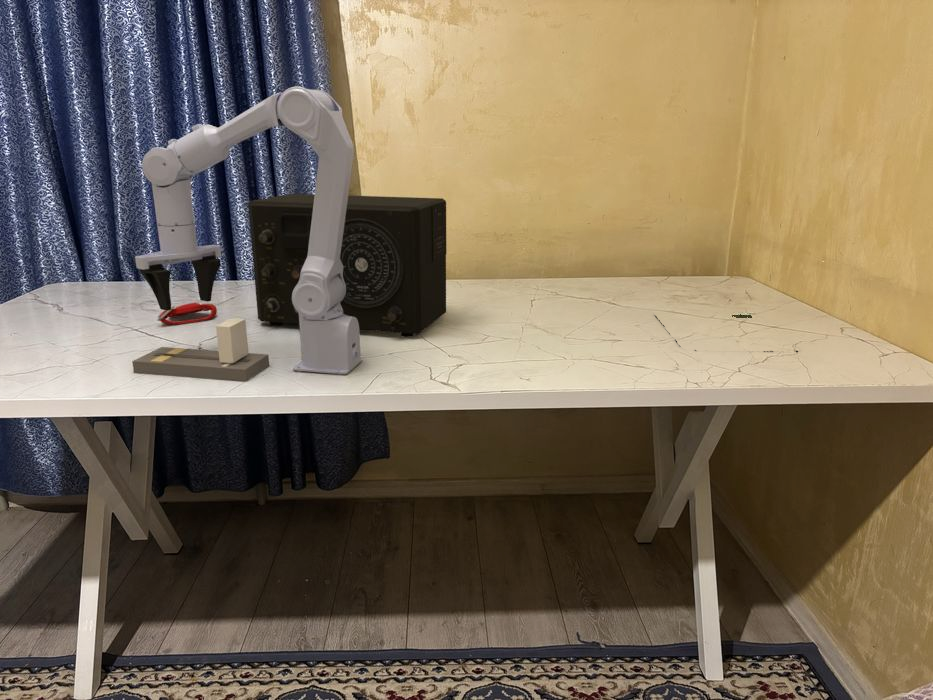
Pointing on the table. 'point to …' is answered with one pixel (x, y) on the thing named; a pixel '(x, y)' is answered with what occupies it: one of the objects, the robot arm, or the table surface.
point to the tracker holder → (187, 312)
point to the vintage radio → (357, 259)
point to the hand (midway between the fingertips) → (186, 304)
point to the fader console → (199, 364)
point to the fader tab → (232, 340)
